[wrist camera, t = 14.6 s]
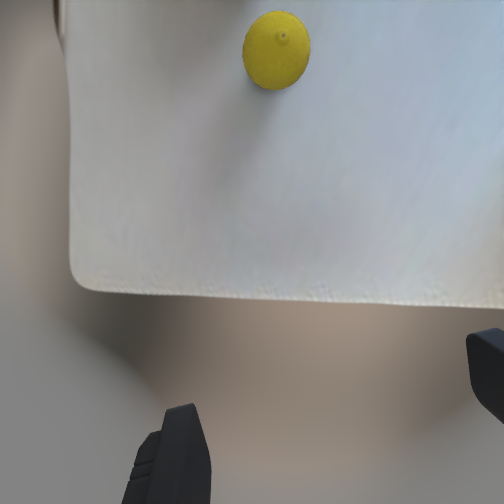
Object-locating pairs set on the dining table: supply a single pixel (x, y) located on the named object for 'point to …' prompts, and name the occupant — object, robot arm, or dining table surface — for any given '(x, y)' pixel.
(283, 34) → the lemon
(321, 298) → the dining table surface
